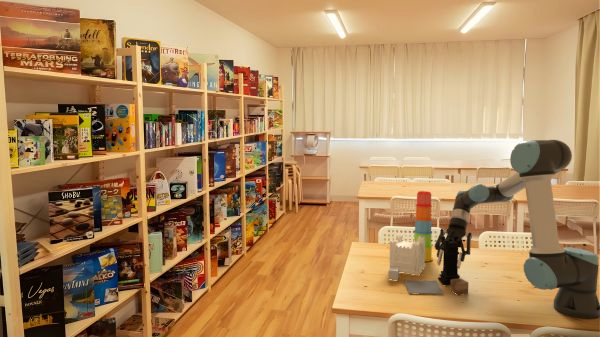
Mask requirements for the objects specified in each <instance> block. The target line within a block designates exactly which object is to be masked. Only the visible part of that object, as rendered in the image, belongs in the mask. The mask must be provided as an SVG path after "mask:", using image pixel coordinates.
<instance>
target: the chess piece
mask: <svg viewBox="0 0 600 337" xmlns="http://www.w3.org/2000/svg"><path fill="white" fill-rule="evenodd" d="M445 238H446V235H444V236H440V239H441V243H442V244H443V245H444V249H442V251H443V255H442V258H443V259H442V260H443V261H442V262H443V263H442V264H443V265H442V266H443V267H442V270H440V273H439V276H438V277H437V280H439V282H440V281H441V282H440V283H441V284H442V286H443V285H451V279H458V278H461V275H460V274H459V273H458V272H459V271H458V270H459V269H458V267H457V263H458V259H459V254H460V251H459V248H461V243H462V242H463V239H462V240H461V239H458V236H453V239H445Z"/></svg>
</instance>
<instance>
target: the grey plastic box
mask: <svg viewBox="0 0 600 337" xmlns="http://www.w3.org/2000/svg"><path fill="white" fill-rule="evenodd" d="M398 278H399V279H400V273H399V267H397V266H390V265H389V268H388V280H389V279H392V280H398V281H399V279H398Z"/></svg>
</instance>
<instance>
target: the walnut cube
mask: <svg viewBox="0 0 600 337" xmlns="http://www.w3.org/2000/svg"><path fill="white" fill-rule="evenodd" d="M450 290H451V292H452V291H453V292H454V293H453V292H452V293H453V294H455V293H456V294H457V295H456V294H455V295H456V296H462V295H461V294H464V295H469V282H468V281H467V280H466V279H463V278H462V277H460V278H458V279H451V286H450ZM450 290H449V291H450Z"/></svg>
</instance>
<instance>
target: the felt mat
mask: <svg viewBox="0 0 600 337" xmlns="http://www.w3.org/2000/svg"><path fill="white" fill-rule="evenodd" d="M404 282H405V283H404ZM403 283H404V285H405V284H406V285H405V288H406V287H407V288H406V290H407V289H408V290H407V292H408V291H409V293H419V294H418V295H420V294H445V293H444V291H443V290H442V288H441V286H440V284H439V283H438V281H437V280H425V279H424V280H421V279H420V280H417V279H416V280H415V279H414V280H413V279H411V280H406V279H405V280H403ZM409 293H408V294H409Z"/></svg>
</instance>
